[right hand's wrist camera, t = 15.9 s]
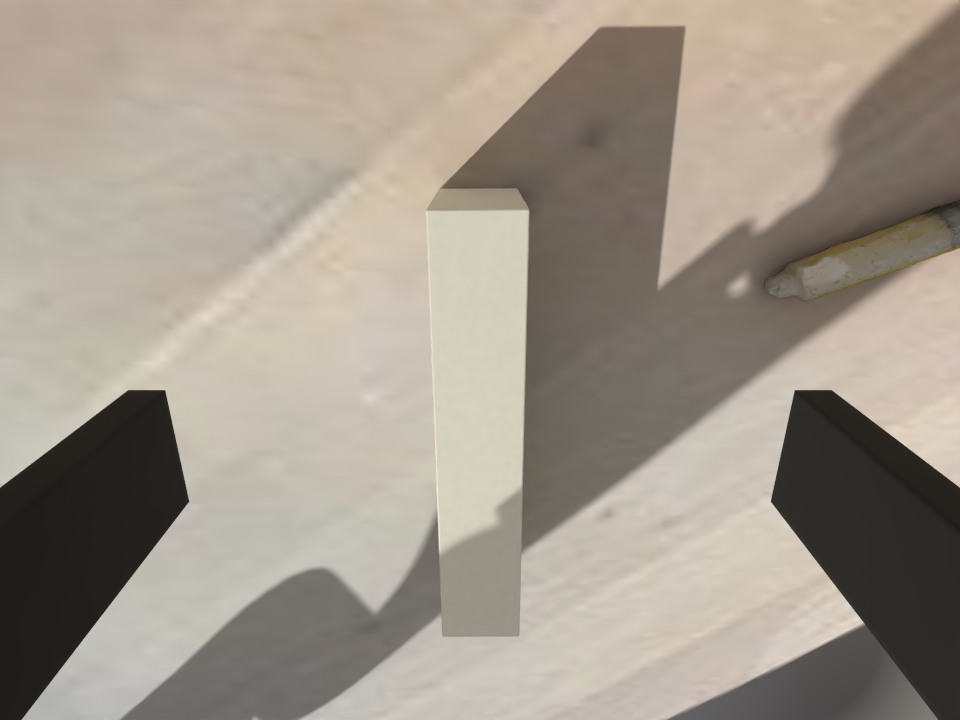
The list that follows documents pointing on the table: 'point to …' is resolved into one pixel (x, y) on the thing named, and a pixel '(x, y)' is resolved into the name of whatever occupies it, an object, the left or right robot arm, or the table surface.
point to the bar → (479, 402)
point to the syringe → (870, 255)
